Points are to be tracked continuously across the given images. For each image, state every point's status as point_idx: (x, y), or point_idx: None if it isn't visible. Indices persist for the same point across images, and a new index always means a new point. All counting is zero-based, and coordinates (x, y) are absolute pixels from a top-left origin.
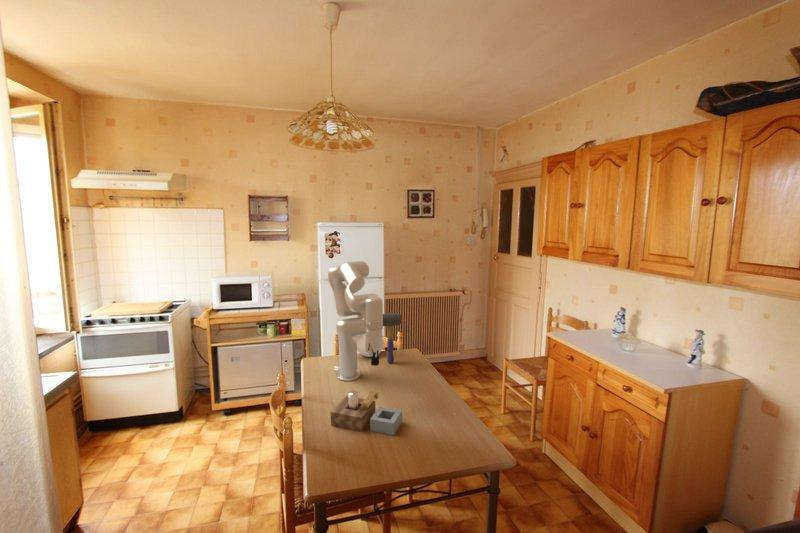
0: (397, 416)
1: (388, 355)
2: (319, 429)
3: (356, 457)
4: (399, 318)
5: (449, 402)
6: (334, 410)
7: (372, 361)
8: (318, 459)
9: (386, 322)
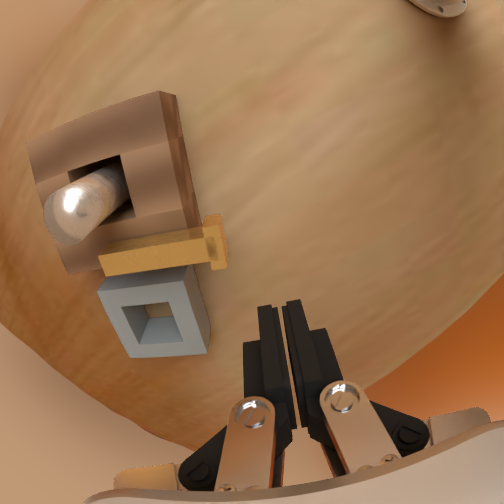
0: (168, 354)
1: None
2: (29, 124)
3: (31, 294)
4: None
5: (369, 371)
6: (37, 148)
7: (243, 366)
8: None
9: None
